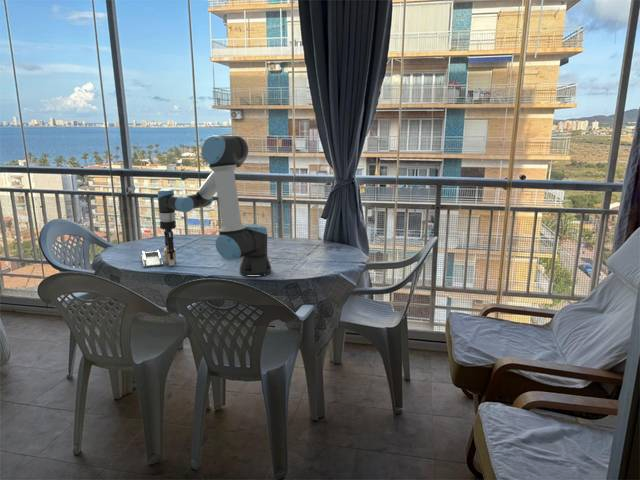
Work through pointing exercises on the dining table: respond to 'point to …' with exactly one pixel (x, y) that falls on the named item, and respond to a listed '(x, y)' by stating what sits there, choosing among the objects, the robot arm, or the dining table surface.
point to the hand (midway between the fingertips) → (170, 261)
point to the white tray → (152, 259)
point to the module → (167, 255)
